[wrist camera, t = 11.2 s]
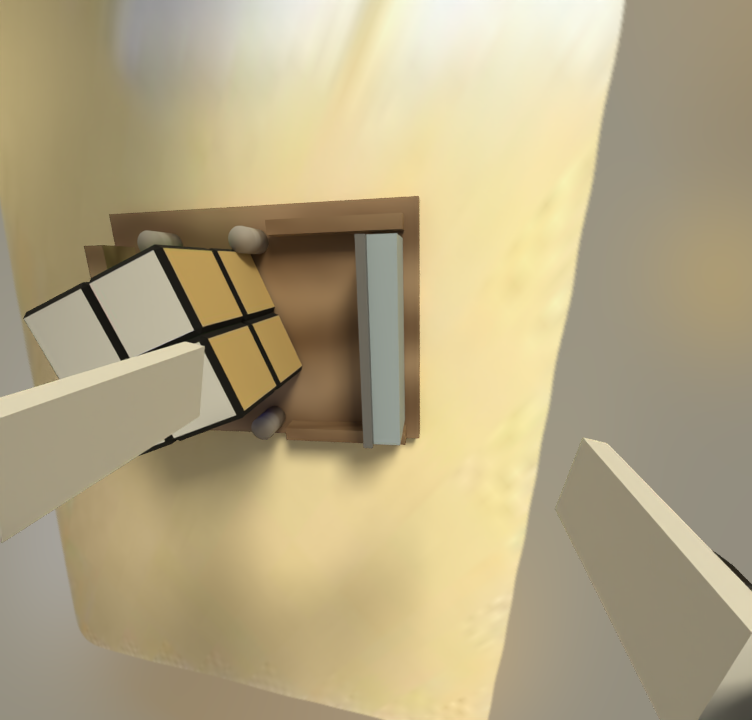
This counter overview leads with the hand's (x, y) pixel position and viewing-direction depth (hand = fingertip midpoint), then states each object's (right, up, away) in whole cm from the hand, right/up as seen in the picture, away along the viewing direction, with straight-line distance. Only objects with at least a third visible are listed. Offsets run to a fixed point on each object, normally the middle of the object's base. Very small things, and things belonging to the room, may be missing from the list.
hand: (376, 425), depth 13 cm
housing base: (-8, +5, +18) cm, 20 cm away
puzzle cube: (-12, +4, +17) cm, 22 cm away
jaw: (+1, +4, +15) cm, 16 cm away
